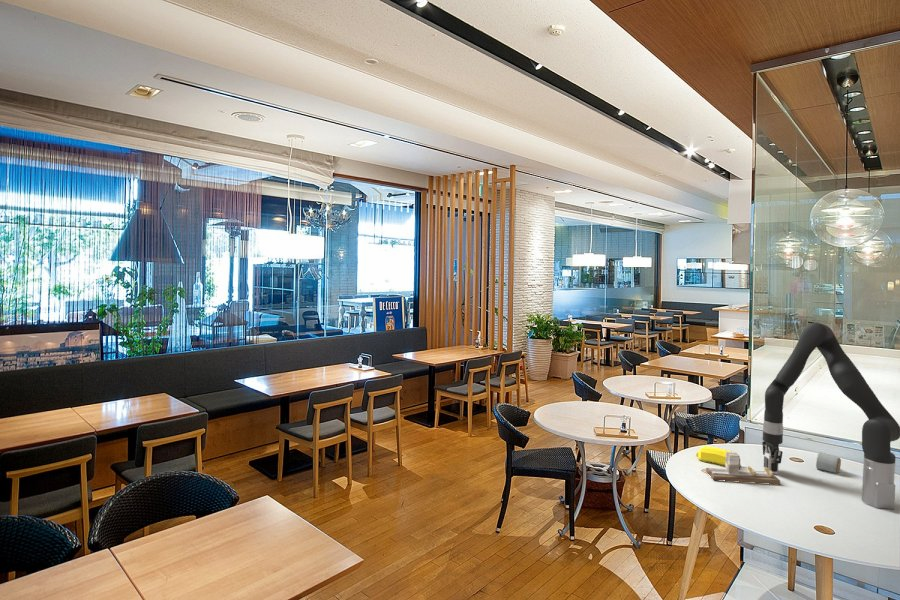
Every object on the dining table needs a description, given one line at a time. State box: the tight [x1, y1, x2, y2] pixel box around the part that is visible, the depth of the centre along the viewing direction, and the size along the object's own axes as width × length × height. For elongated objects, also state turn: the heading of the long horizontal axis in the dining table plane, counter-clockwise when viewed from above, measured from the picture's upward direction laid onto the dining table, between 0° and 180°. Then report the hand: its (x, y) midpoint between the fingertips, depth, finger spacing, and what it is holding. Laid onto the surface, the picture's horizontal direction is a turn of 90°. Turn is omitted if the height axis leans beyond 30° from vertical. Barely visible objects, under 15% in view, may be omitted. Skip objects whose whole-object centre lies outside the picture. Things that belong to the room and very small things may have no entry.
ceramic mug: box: [815, 451, 842, 474], centre depth 230 cm, size 11×8×8 cm
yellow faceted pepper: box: [695, 445, 732, 467], centre depth 238 cm, size 18×7×8 cm
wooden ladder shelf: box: [705, 451, 781, 485], centre depth 220 cm, size 9×26×11 cm, turn 81°
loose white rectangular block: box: [763, 452, 779, 475], centre depth 228 cm, size 4×4×8 cm
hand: (771, 468), depth 228 cm, fingers open, 5 cm apart
